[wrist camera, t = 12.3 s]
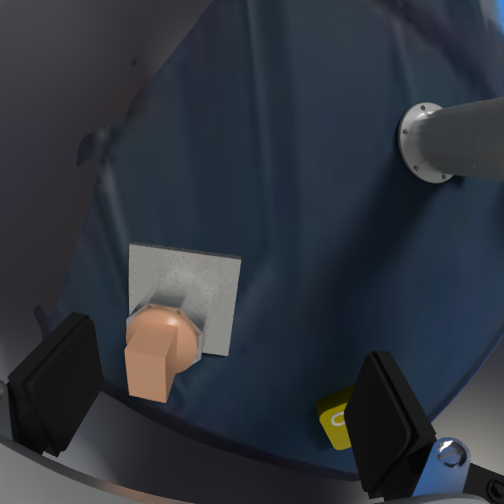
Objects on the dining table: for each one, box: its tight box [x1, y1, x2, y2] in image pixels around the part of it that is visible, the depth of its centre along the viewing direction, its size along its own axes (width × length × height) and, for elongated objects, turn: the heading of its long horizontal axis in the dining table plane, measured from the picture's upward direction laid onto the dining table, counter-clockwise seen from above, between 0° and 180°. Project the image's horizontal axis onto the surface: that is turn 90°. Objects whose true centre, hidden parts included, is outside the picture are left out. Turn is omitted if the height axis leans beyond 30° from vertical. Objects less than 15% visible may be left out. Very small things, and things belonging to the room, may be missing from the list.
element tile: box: [316, 384, 355, 450], centre depth 50 cm, size 15×15×5 cm
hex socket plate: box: [126, 242, 241, 365], centre depth 39 cm, size 16×16×12 cm
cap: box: [125, 307, 198, 403], centre depth 31 cm, size 8×8×10 cm
